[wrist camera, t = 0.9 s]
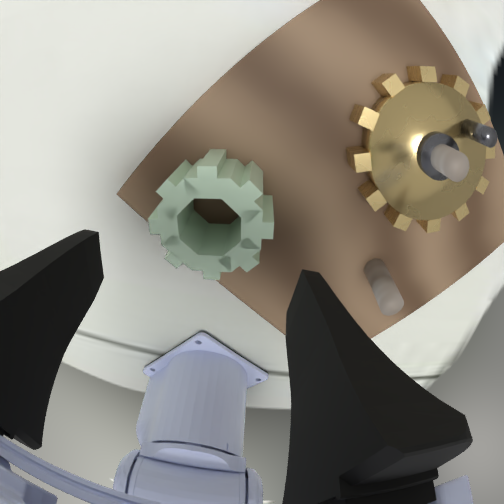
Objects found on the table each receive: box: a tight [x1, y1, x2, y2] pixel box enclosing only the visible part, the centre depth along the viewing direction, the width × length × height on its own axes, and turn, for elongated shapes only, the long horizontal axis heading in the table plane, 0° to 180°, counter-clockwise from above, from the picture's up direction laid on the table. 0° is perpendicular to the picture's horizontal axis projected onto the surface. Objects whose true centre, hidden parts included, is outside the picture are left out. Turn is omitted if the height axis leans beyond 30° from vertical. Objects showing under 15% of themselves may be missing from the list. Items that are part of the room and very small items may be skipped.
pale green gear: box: [148, 149, 274, 280], centre depth 14 cm, size 6×6×3 cm
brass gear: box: [346, 66, 497, 233], centre depth 12 cm, size 9×9×4 cm
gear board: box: [117, 0, 504, 339], centre depth 14 cm, size 20×20×5 cm
